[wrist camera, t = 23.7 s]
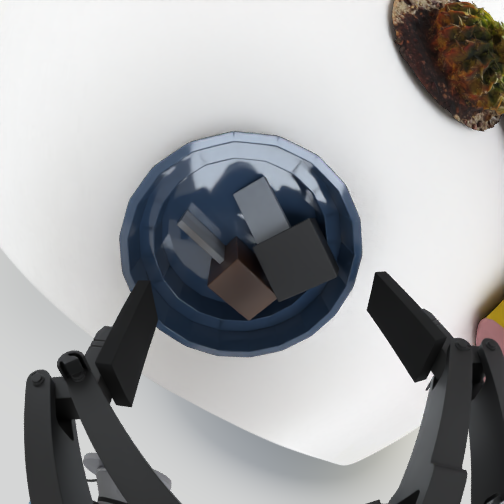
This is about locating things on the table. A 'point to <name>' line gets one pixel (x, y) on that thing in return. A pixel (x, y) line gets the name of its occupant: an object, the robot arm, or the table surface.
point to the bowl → (226, 229)
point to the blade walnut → (232, 270)
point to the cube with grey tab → (285, 243)
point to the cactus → (455, 56)
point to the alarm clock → (492, 327)
